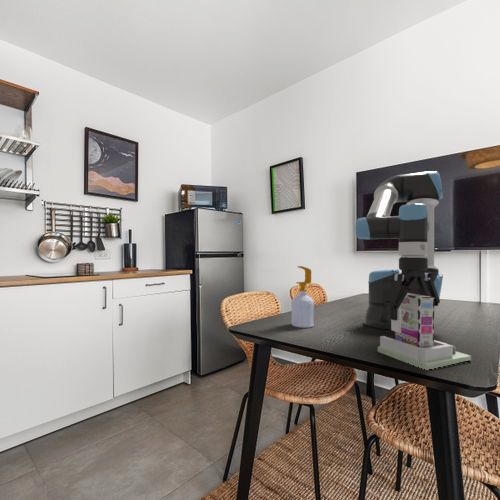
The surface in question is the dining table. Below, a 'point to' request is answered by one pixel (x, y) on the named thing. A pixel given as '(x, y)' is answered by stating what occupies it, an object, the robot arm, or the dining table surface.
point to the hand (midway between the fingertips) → (412, 329)
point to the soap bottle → (303, 304)
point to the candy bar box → (417, 321)
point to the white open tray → (422, 353)
